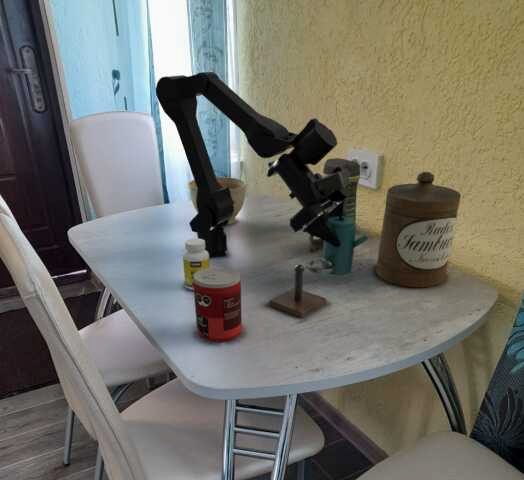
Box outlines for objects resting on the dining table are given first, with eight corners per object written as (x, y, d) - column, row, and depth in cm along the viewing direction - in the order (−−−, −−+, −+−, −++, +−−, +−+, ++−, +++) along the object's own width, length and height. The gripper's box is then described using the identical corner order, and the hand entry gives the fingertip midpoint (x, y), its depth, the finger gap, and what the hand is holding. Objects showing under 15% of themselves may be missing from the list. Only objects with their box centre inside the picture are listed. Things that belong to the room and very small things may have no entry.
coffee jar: (359, 231, 138) (367, 160, 128) (338, 237, 134) (344, 164, 124) (336, 223, 144) (341, 154, 135) (314, 228, 141) (318, 158, 131)
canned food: (197, 323, 93) (193, 267, 87) (240, 321, 94) (239, 265, 88) (196, 344, 86) (191, 285, 81) (242, 342, 87) (241, 283, 81)
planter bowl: (245, 230, 139) (245, 190, 133) (187, 230, 139) (184, 189, 133) (248, 213, 152) (247, 176, 147) (194, 213, 153) (192, 176, 147)
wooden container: (401, 292, 104) (418, 183, 93) (363, 267, 116) (374, 167, 105) (459, 282, 109) (482, 177, 98) (417, 258, 121) (433, 162, 109)
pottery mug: (354, 260, 121) (341, 233, 116) (317, 273, 125) (303, 248, 119) (351, 232, 129) (339, 206, 124) (317, 245, 133) (304, 221, 128)
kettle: (299, 285, 101) (302, 228, 95) (328, 261, 113) (333, 209, 106) (342, 296, 98) (348, 237, 91) (368, 270, 109) (375, 215, 102)
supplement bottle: (190, 293, 104) (186, 247, 99) (181, 283, 108) (177, 239, 103) (214, 288, 106) (212, 243, 101) (205, 278, 110) (202, 235, 105)
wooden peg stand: (294, 292, 104) (295, 254, 100) (326, 303, 100) (329, 263, 95) (269, 305, 99) (269, 265, 95) (301, 318, 95) (303, 276, 90)
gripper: (307, 162, 91) (358, 231, 92) (345, 146, 105) (389, 207, 106) (268, 199, 99) (316, 263, 100) (309, 180, 113) (351, 236, 114)
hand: (345, 241), depth 105 cm, fingers closed on kettle, 6 cm apart
